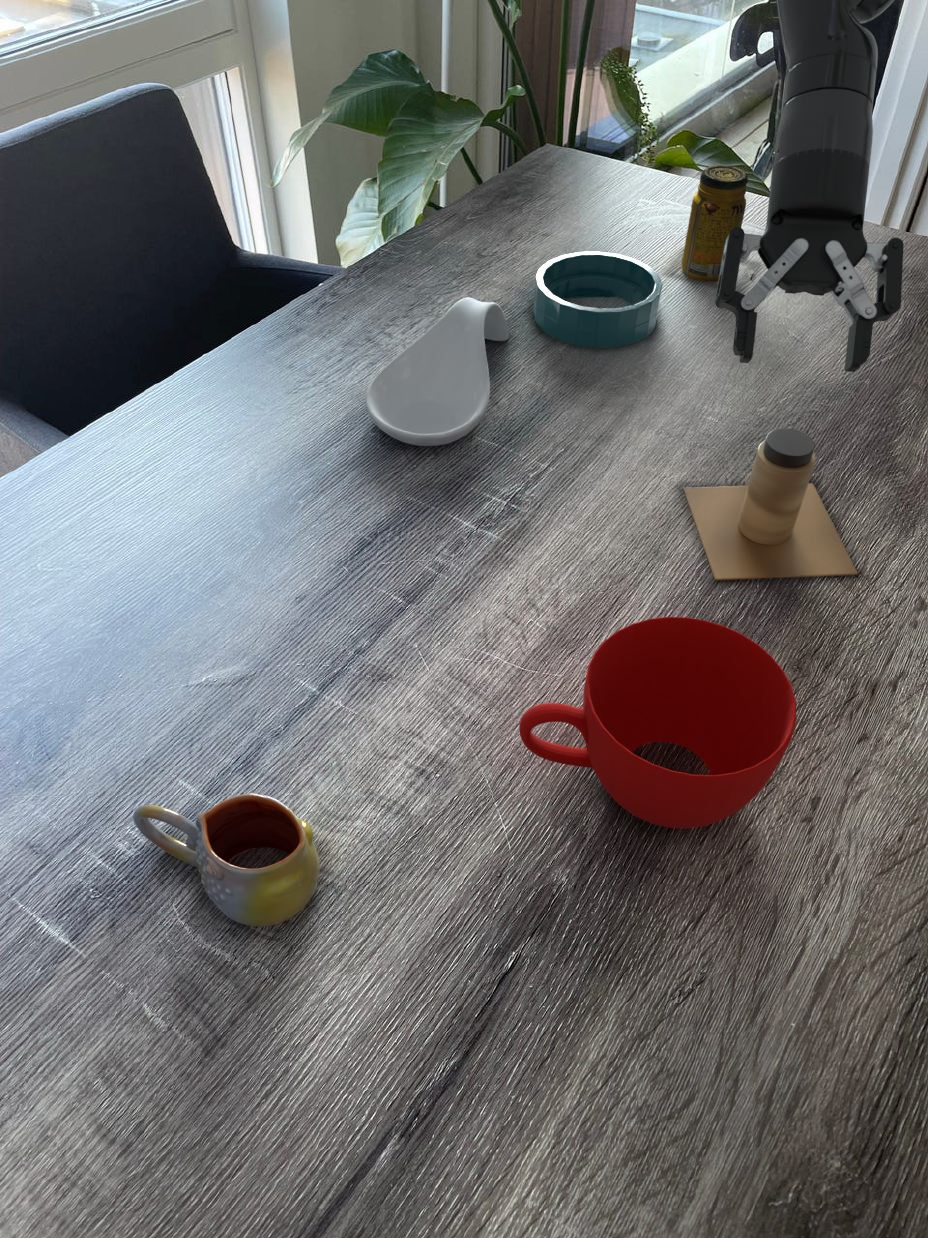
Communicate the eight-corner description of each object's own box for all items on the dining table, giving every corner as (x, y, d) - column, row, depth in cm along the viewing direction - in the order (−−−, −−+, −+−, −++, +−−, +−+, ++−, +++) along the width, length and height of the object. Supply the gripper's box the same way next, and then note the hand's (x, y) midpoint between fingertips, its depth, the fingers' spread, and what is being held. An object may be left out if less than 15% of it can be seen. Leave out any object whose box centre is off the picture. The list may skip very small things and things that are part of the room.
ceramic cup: (504, 718, 72) (510, 622, 65) (733, 706, 73) (764, 611, 66) (524, 878, 63) (534, 788, 56) (785, 862, 64) (827, 772, 57)
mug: (341, 859, 64) (332, 801, 59) (290, 953, 60) (276, 898, 55) (180, 800, 67) (160, 740, 62) (120, 886, 63) (93, 829, 58)
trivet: (810, 491, 91) (813, 482, 90) (855, 582, 83) (858, 573, 82) (680, 496, 91) (682, 487, 90) (713, 588, 82) (715, 579, 81)
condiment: (687, 256, 123) (705, 156, 115) (754, 271, 121) (778, 170, 112) (668, 281, 119) (685, 179, 110) (737, 297, 116) (760, 194, 108)
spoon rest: (464, 476, 92) (465, 410, 87) (347, 449, 95) (341, 384, 90) (537, 349, 108) (542, 287, 103) (435, 329, 110) (435, 267, 105)
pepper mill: (783, 509, 88) (809, 424, 81) (798, 544, 85) (827, 458, 78) (731, 511, 88) (754, 425, 81) (745, 546, 84) (770, 460, 78)
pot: (642, 291, 117) (648, 250, 113) (666, 352, 108) (674, 310, 104) (526, 293, 116) (529, 252, 113) (541, 356, 107) (544, 313, 103)
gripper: (739, 139, 78) (718, 346, 78) (927, 150, 77) (904, 360, 77) (723, 180, 86) (704, 369, 86) (894, 190, 84) (874, 382, 85)
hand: (799, 365), depth 81 cm, fingers open, 8 cm apart
